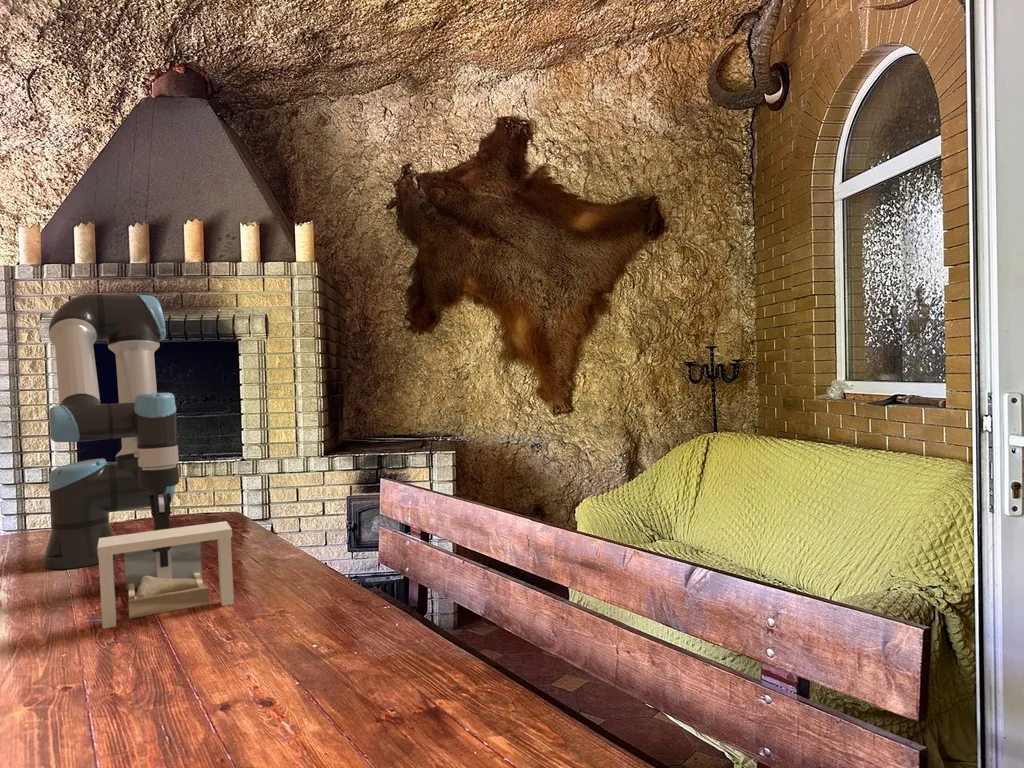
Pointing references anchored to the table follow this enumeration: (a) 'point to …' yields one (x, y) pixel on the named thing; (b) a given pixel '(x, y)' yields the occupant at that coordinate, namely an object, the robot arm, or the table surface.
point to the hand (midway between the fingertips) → (164, 578)
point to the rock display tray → (183, 567)
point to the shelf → (158, 540)
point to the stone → (163, 586)
